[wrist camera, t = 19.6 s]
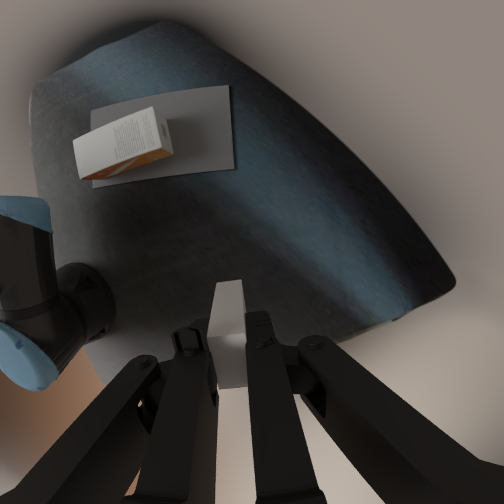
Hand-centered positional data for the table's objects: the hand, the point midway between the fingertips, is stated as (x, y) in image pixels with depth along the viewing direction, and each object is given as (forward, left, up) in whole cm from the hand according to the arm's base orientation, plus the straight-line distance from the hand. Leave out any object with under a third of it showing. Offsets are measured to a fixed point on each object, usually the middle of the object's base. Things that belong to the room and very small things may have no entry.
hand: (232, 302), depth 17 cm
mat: (-11, +17, -28) cm, 34 cm away
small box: (-9, +16, -23) cm, 29 cm away
